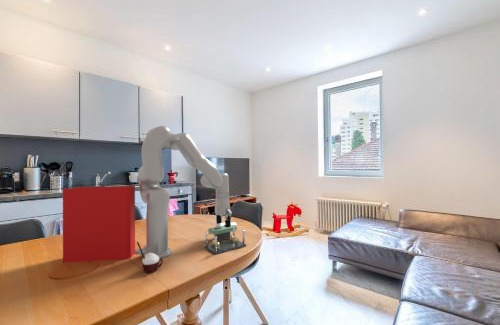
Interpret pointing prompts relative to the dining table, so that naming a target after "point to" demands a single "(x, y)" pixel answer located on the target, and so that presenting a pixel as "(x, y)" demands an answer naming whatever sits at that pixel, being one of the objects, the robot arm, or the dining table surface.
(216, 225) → the bracket
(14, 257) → the dining table surface
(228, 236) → the block
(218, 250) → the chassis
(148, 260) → the cocoa
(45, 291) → the dining table surface
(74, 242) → the book
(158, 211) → the robot arm
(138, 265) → the dining table surface
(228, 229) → the board
